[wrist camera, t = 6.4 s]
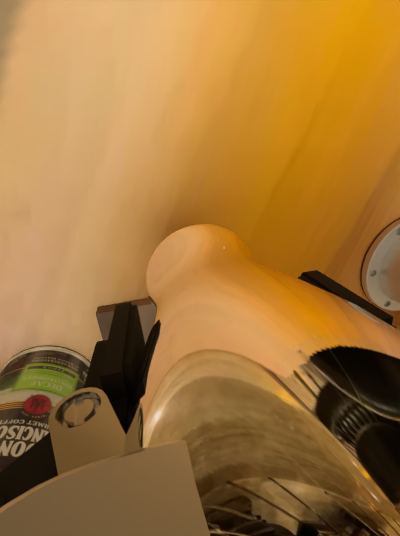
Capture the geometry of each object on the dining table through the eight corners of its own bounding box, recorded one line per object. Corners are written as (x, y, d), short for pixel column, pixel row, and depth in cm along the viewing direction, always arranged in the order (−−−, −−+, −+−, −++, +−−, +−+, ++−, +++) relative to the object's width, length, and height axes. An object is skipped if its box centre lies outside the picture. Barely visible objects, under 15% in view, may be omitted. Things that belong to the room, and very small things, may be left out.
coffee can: (9, 334, 29) (-99, 475, 16) (109, 357, 32) (88, 489, 19) (-12, 411, 31) (-121, 587, 18) (83, 424, 34) (48, 582, 21)
